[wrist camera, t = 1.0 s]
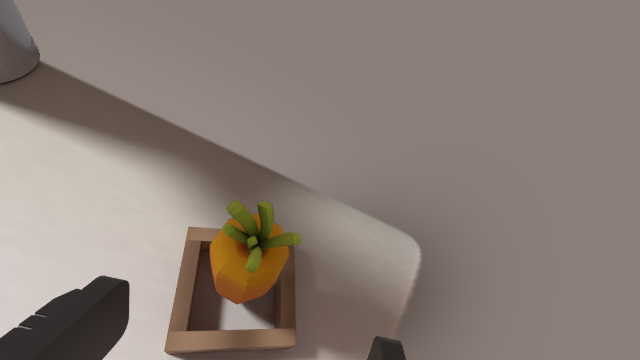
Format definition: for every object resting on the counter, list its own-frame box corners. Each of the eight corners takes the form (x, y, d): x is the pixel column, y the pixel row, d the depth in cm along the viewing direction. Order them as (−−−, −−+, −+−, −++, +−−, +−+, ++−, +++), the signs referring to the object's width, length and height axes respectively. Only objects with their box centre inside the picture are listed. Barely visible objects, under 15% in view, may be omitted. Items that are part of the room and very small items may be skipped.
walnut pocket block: (167, 354, 23) (164, 351, 21) (189, 237, 28) (188, 226, 26) (288, 348, 25) (295, 345, 23) (288, 243, 30) (293, 233, 29)
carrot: (275, 294, 27) (329, 225, 16) (229, 334, 25) (253, 288, 13) (243, 252, 29) (270, 160, 17) (195, 286, 26) (188, 204, 14)
